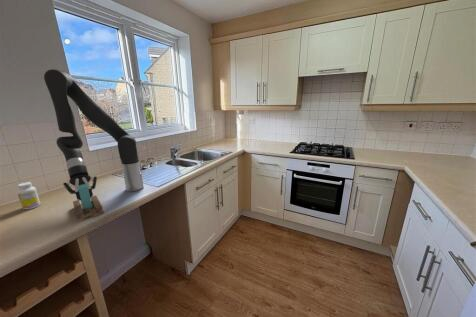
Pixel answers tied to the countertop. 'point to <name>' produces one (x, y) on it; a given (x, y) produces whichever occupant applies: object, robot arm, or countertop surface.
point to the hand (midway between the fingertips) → (85, 198)
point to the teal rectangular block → (85, 196)
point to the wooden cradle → (89, 212)
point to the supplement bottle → (28, 196)
